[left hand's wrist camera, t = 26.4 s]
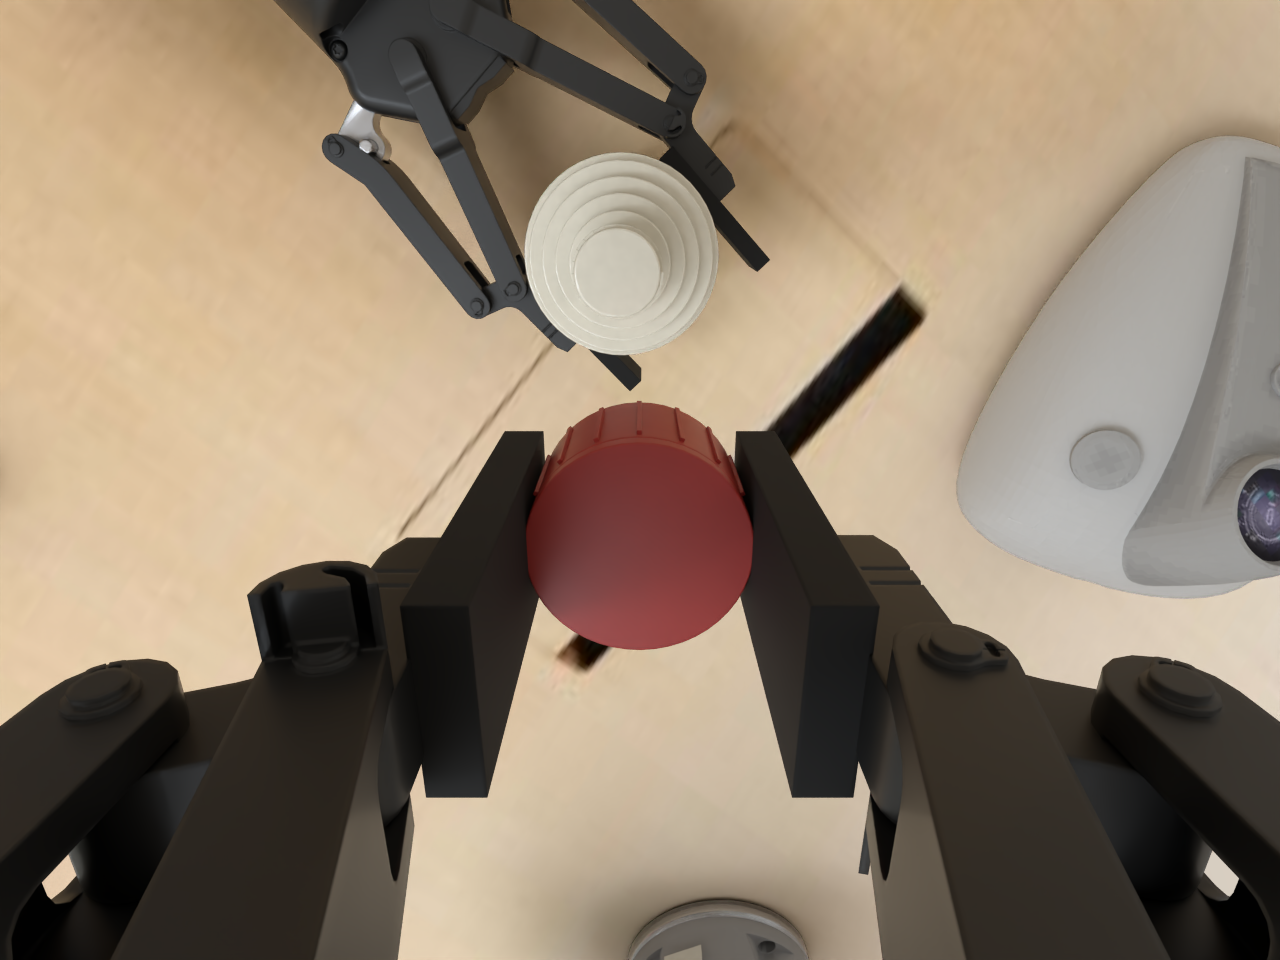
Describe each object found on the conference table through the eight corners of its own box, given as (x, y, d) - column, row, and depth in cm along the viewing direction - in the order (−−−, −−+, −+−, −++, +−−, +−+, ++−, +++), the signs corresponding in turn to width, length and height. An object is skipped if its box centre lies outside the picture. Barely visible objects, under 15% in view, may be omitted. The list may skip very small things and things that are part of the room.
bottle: (556, 299, 40) (492, 377, 23) (565, 157, 37) (501, 126, 20) (684, 313, 40) (717, 402, 23) (703, 174, 38) (756, 157, 21)
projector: (1356, 443, 43) (1686, 556, 29) (997, 611, 47) (1140, 778, 34) (1268, 89, 36) (1648, 25, 22) (857, 325, 40) (966, 390, 27)
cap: (574, 602, 15) (562, 675, 13) (512, 430, 14) (485, 476, 11) (756, 556, 15) (779, 623, 12) (711, 375, 13) (726, 411, 11)
